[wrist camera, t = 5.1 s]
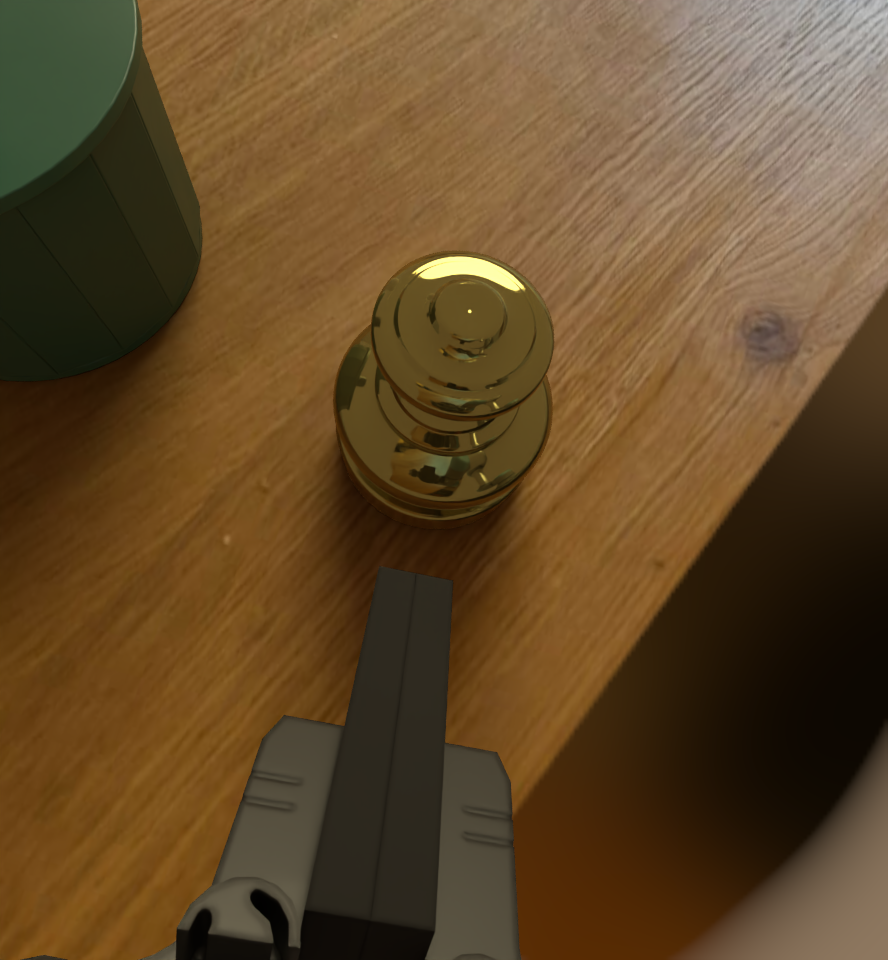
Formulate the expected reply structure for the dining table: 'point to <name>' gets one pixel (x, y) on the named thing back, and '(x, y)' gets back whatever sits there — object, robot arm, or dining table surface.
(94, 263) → the pot
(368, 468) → the brass calibration weight
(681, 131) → the dining table surface
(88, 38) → the pot lid
